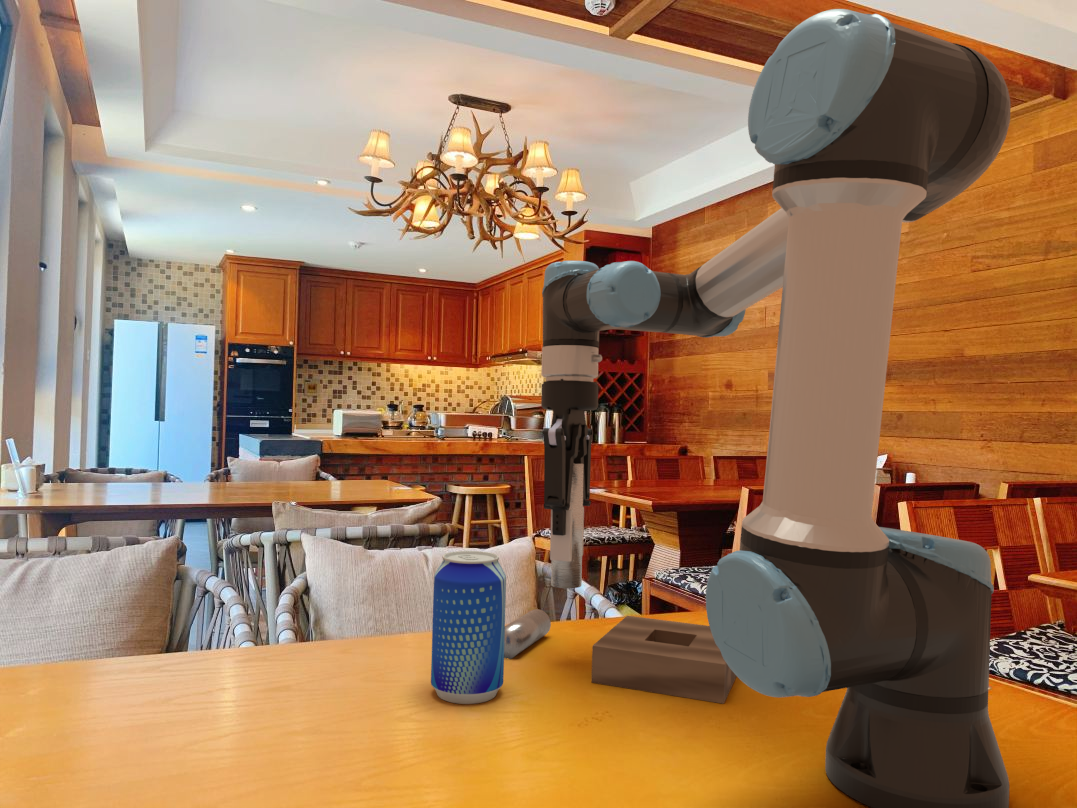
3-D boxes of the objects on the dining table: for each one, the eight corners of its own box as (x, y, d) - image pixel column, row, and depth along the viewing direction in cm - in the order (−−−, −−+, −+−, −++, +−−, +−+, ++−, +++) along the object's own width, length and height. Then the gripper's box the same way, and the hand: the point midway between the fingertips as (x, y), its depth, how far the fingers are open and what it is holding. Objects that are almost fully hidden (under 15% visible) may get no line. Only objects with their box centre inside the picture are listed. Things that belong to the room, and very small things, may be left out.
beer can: (507, 683, 97) (511, 551, 97) (497, 709, 89) (501, 564, 89) (439, 678, 98) (443, 548, 98) (422, 704, 90) (426, 560, 90)
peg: (575, 589, 103) (577, 464, 103) (546, 586, 104) (548, 463, 105) (585, 583, 107) (587, 463, 107) (557, 581, 108) (559, 462, 108)
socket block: (723, 703, 92) (724, 664, 92) (591, 682, 98) (592, 645, 98) (742, 663, 107) (743, 630, 107) (626, 647, 113) (627, 615, 113)
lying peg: (487, 651, 108) (513, 664, 106) (496, 624, 107) (522, 636, 106) (522, 629, 119) (545, 641, 118) (530, 604, 119) (554, 615, 117)
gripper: (575, 376, 97) (572, 570, 96) (615, 383, 113) (612, 550, 112) (518, 376, 100) (515, 565, 99) (565, 383, 115) (562, 546, 115)
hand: (566, 557), depth 106 cm, fingers closed on peg, 4 cm apart
